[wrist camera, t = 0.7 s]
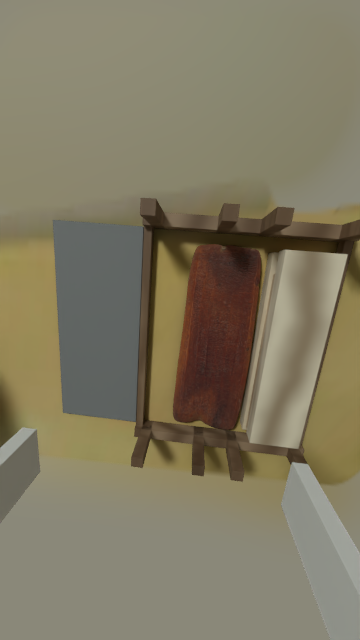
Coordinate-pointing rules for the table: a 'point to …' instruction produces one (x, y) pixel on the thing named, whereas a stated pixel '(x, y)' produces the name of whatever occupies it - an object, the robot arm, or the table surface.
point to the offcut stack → (289, 343)
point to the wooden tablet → (217, 334)
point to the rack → (153, 217)
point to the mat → (99, 316)
